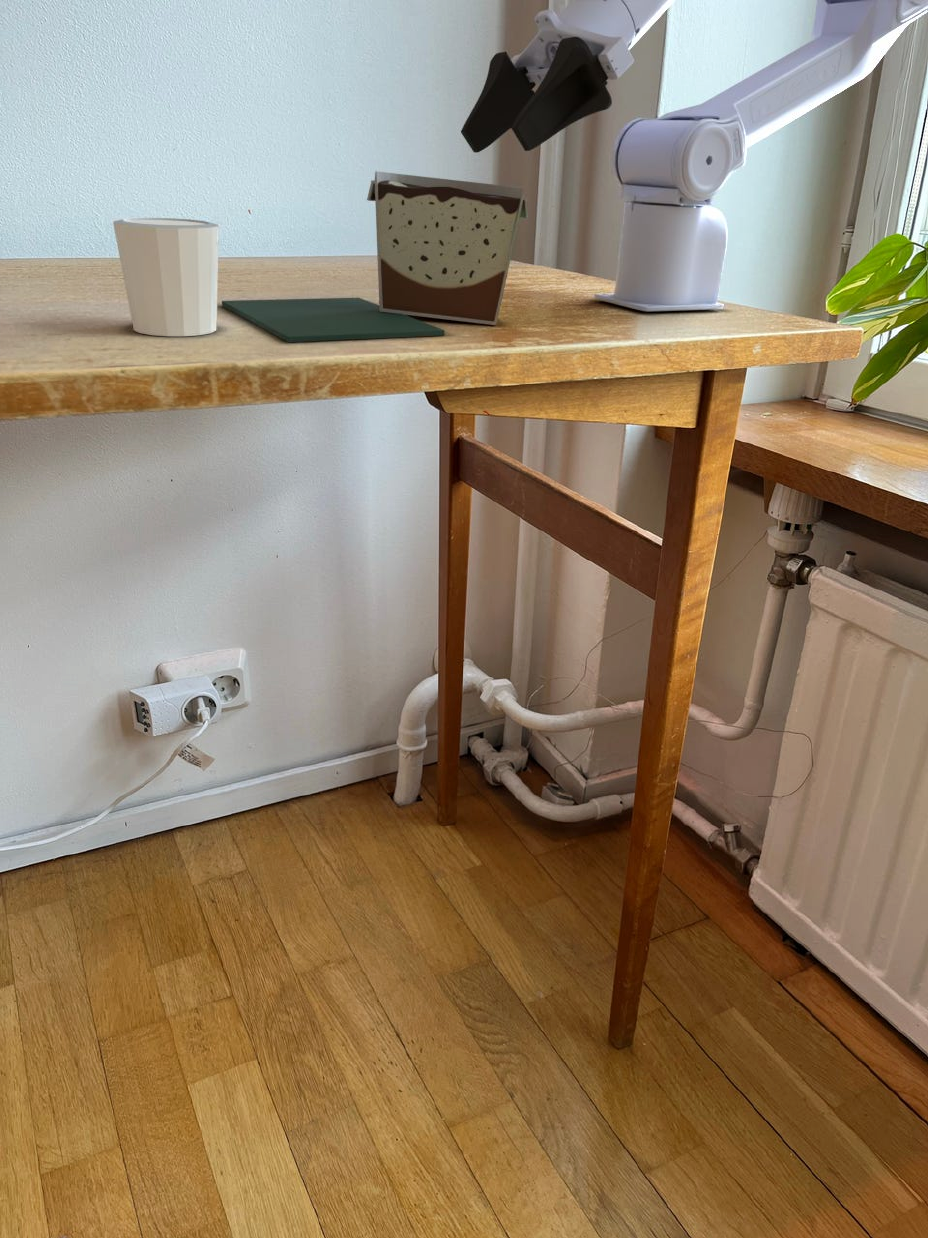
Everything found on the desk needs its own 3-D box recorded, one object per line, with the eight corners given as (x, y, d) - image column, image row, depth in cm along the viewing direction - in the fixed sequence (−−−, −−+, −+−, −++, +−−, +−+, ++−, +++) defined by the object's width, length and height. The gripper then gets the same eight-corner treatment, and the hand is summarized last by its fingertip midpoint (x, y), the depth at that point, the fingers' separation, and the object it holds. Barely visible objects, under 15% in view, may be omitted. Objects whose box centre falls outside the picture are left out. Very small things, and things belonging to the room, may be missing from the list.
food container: (518, 318, 80) (534, 188, 76) (515, 327, 74) (531, 188, 70) (375, 301, 81) (382, 171, 76) (361, 309, 75) (368, 170, 71)
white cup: (133, 339, 62) (122, 225, 59) (115, 322, 68) (104, 216, 65) (236, 335, 65) (231, 226, 62) (212, 319, 71) (205, 217, 68)
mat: (358, 302, 82) (358, 297, 82) (444, 335, 70) (444, 329, 69) (221, 305, 77) (221, 300, 76) (288, 342, 64) (288, 336, 64)
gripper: (530, -17, 78) (421, 100, 77) (644, -49, 67) (517, 88, 66) (572, 62, 82) (469, 173, 82) (685, 44, 71) (567, 173, 70)
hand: (493, 140), depth 74 cm, fingers open, 7 cm apart
